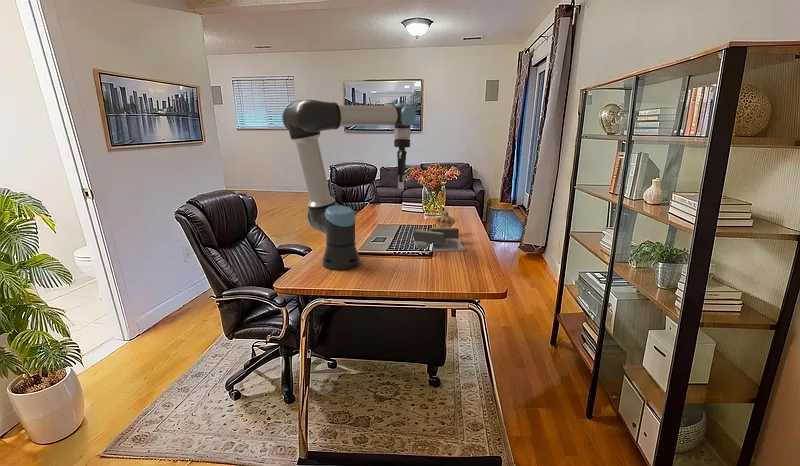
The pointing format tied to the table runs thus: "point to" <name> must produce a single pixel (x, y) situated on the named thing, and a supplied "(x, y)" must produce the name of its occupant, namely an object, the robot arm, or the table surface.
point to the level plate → (442, 245)
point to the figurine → (444, 221)
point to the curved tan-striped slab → (447, 232)
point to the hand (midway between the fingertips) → (401, 188)
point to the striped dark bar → (429, 237)
